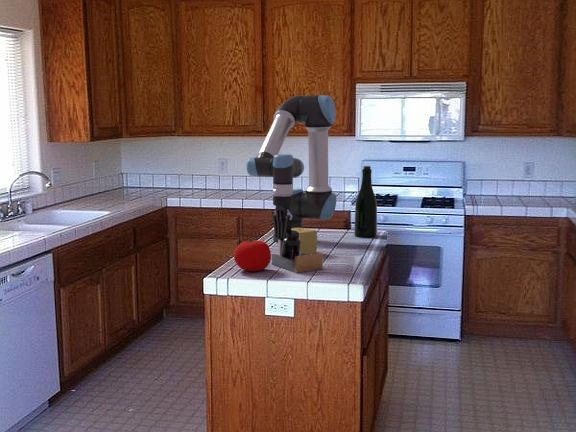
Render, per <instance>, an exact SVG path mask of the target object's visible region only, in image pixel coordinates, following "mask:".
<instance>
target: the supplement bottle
mask: <svg viewBox="0 0 576 432" xmlns="http://www.w3.org/2000/svg"><path fill="white" fill-rule="evenodd" d="M300 245H301V241H300V240H299V232H297V231H294V230H289V231H287V233H286V237H285V238H284V239H283V243H282V251H281V256H283V257H286V258H289V259H292V260H295V256H299V252H300Z"/></svg>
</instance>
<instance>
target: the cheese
mask: <svg viewBox="0 0 576 432" xmlns="http://www.w3.org/2000/svg"><path fill="white" fill-rule="evenodd" d="M291 230H294V231H297V232H299V240H300V241H301V245H300V252H302V253H305V254H308V255H309V254H317V249H318V232H317V230H316V229H309V228H292V229H291Z"/></svg>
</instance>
